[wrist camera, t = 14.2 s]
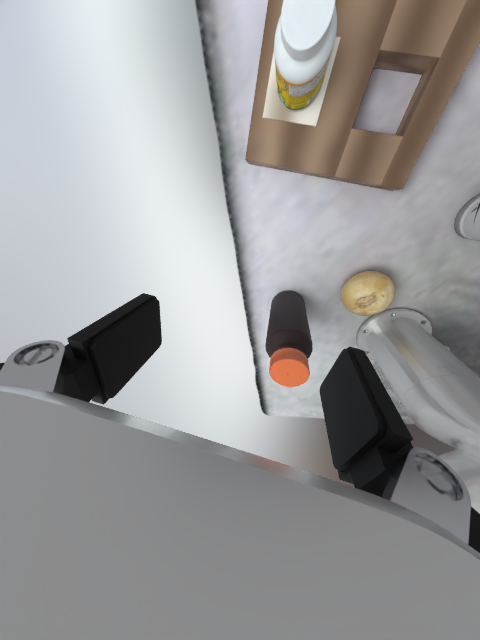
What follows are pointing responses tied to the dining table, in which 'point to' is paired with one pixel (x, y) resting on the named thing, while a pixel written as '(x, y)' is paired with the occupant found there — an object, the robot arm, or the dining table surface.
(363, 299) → the onion
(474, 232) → the travel mug
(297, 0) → the supplement bottle
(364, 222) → the dining table surface
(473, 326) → the dining table surface
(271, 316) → the vinegar
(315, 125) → the socket board
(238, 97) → the dining table surface
